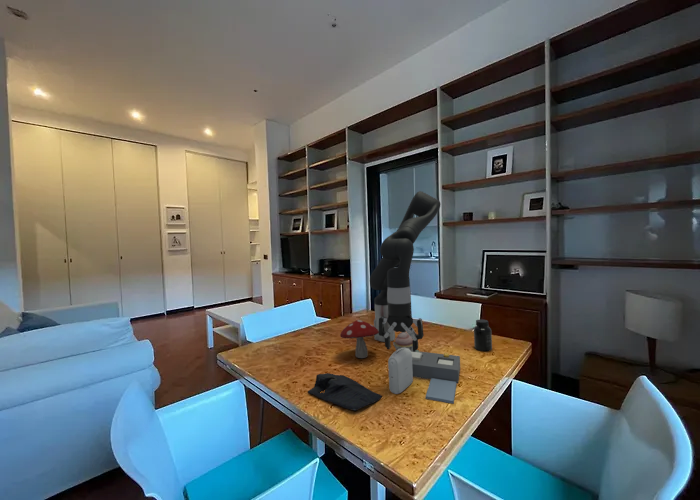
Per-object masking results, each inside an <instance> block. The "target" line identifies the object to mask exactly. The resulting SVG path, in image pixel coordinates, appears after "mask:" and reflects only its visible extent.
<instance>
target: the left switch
mask: <svg viewBox="0 0 700 500" xmlns="http://www.w3.org/2000/svg"><path fill="white" fill-rule="evenodd" d="M420 352H421V351H420ZM420 352H411V353H412V360H414V361H421V359H422V353H420Z"/></svg>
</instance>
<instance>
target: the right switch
mask: <svg viewBox="0 0 700 500" xmlns="http://www.w3.org/2000/svg"><path fill="white" fill-rule="evenodd" d="M438 364H446V365H453V361H449V360H441V359H439V361H438Z"/></svg>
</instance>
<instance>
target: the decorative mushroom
mask: <svg viewBox="0 0 700 500" xmlns="http://www.w3.org/2000/svg"><path fill="white" fill-rule="evenodd" d="M378 333H379V331H378V329H376V328H375V327H374V324H373V325H372V324H371V323H369V322H366V321H364V320H361V319H356V320H354V321H352V322H351V323H349V324H347V325H346V326H345V327H344V328H343V329H342V330H341V331H340V333H339V336H340V338H341V339H356V344H355V357H356V358H357V359H365V358H367V357H368V355H369V354H368V352H369V351H368V346H367V344H366V342H365V338H369V337H373V336H374V335H377V334H378Z"/></svg>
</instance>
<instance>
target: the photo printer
mask: <svg viewBox="0 0 700 500" xmlns="http://www.w3.org/2000/svg"><path fill="white" fill-rule="evenodd" d="M387 363H388V364H387V365H388V387H389V391H390V392H391V393H392V394H395V395H399V394H401V393H402V392H404V391H405V390H406V389H407V388H408V387H409V386H411V384H412V383H413V381H414V377H413V368H412V353H411V351H410V349H408V348H400V349H398V350H396V349H395V351H393V353H392V354H391V355H390V356H389V357H388V361H387Z"/></svg>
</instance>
